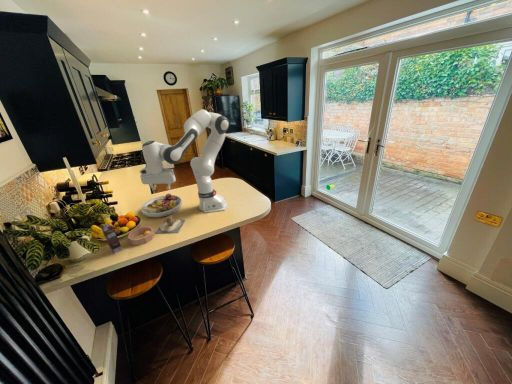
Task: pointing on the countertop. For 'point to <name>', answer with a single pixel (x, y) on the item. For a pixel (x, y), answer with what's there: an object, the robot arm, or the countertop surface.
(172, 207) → the bowl
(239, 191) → the countertop surface
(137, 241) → the bowl
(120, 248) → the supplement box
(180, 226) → the mat
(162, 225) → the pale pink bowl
